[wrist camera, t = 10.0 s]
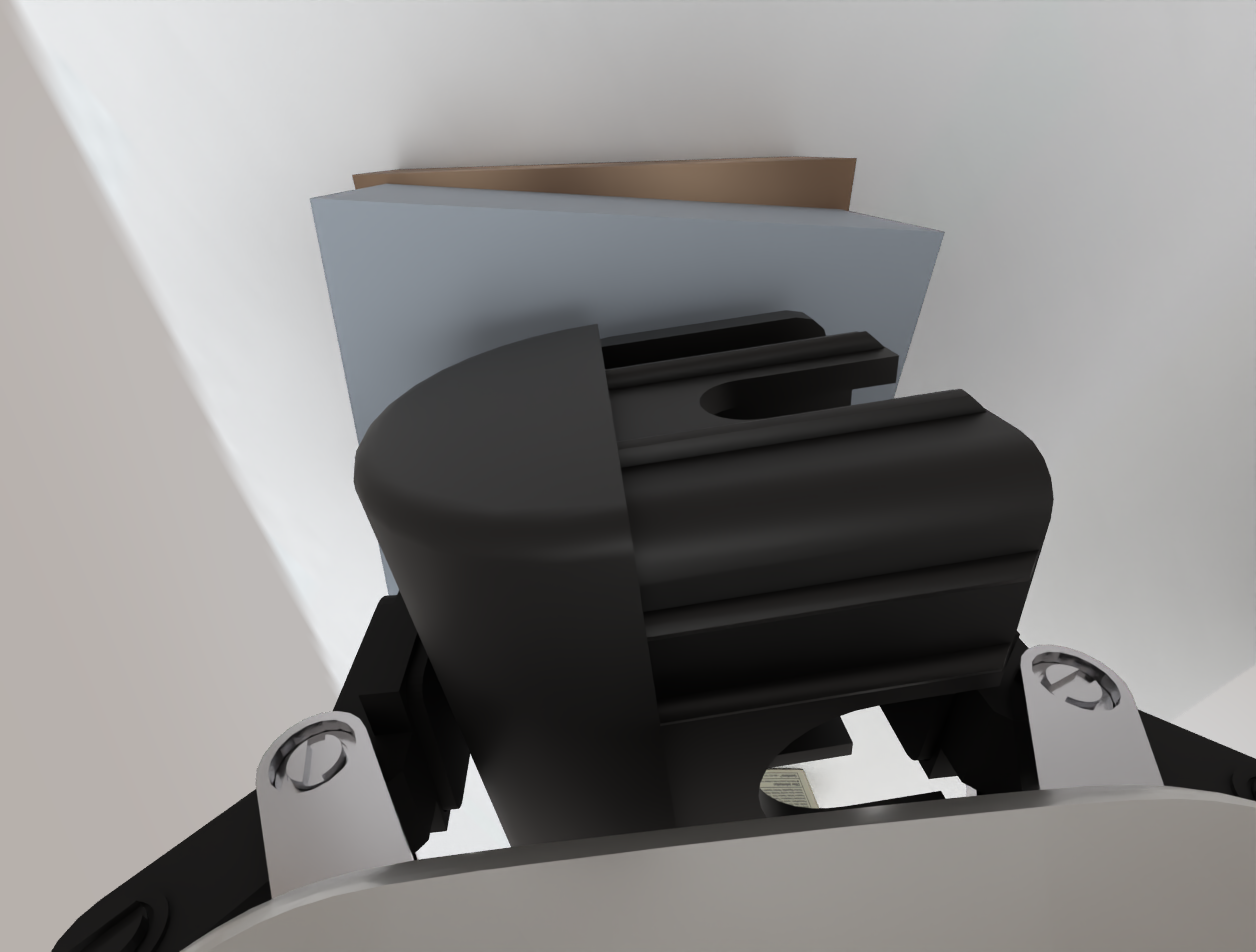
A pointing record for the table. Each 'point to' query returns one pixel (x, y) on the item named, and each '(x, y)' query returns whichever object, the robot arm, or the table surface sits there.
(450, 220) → the slate top block
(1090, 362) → the table surface
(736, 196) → the walnut base block
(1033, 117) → the table surface
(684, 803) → the end cap
